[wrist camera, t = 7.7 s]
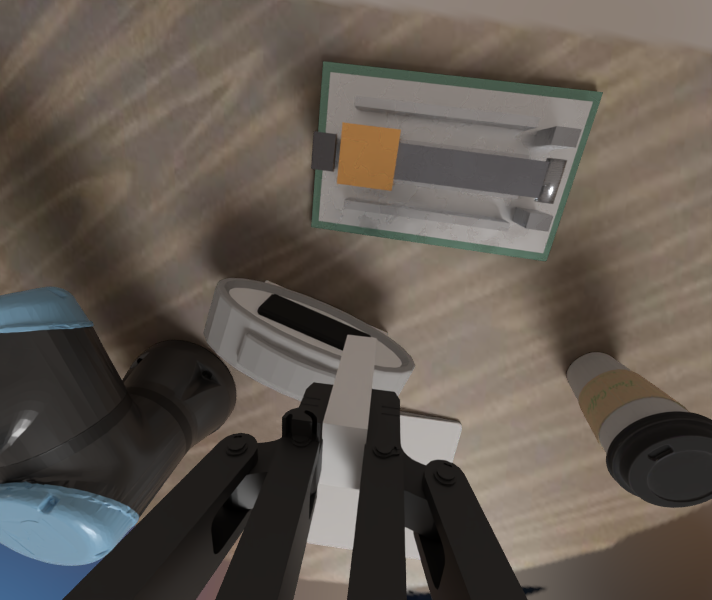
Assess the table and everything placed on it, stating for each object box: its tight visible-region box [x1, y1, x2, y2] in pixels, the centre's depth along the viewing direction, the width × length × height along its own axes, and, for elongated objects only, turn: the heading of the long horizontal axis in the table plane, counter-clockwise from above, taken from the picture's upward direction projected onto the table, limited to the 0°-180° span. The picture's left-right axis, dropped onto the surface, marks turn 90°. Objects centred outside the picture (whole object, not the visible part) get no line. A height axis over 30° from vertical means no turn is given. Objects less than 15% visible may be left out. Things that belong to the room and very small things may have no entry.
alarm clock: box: [204, 278, 415, 401], centre depth 39 cm, size 23×6×13 cm, turn 67°
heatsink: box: [311, 61, 603, 261], centre depth 33 cm, size 26×16×8 cm, turn 83°
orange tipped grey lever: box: [337, 122, 567, 204], centre depth 31 cm, size 19×5×2 cm, turn 83°
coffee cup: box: [567, 352, 712, 508], centre depth 36 cm, size 9×9×15 cm
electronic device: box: [307, 411, 462, 560], centre depth 54 cm, size 29×20×2 cm
